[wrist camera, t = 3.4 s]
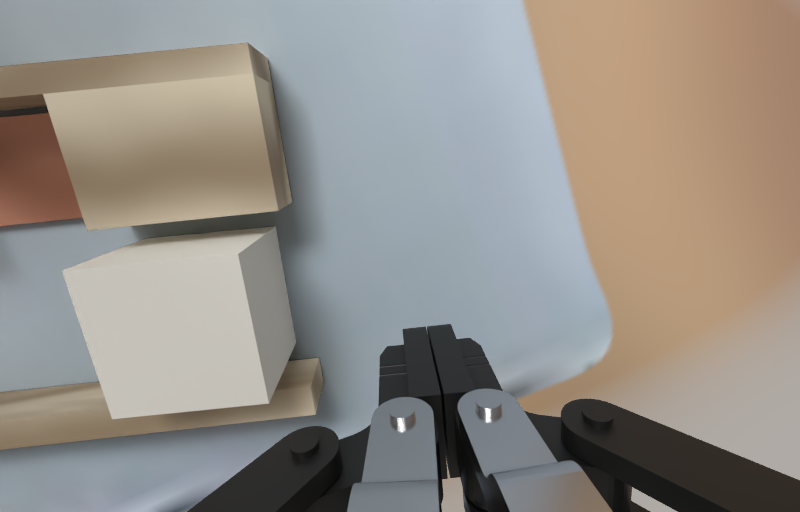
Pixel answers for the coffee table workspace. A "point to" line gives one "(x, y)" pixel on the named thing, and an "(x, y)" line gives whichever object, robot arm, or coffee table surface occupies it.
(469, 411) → the robot arm
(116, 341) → the cream block
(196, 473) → the coffee table surface
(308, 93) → the coffee table surface
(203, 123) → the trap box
